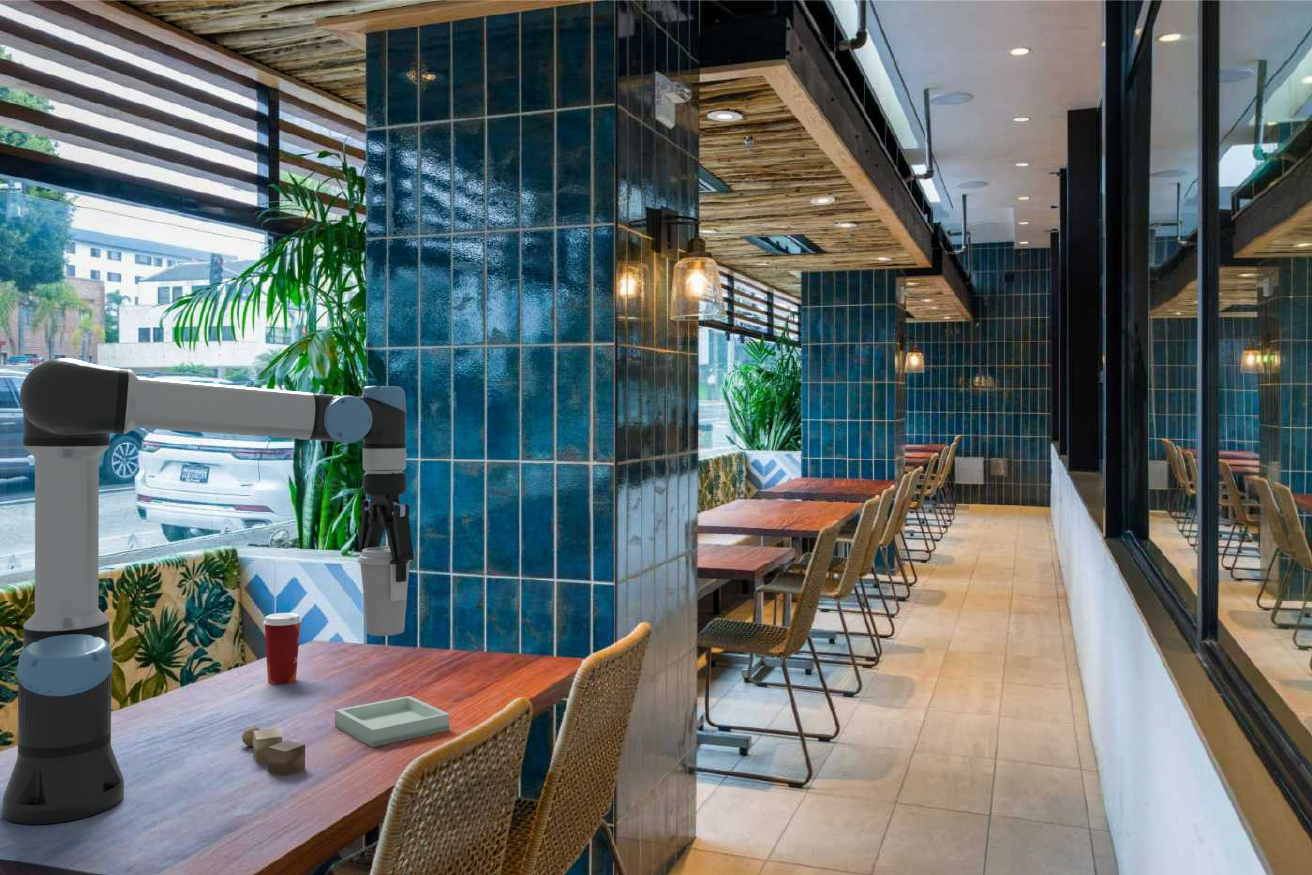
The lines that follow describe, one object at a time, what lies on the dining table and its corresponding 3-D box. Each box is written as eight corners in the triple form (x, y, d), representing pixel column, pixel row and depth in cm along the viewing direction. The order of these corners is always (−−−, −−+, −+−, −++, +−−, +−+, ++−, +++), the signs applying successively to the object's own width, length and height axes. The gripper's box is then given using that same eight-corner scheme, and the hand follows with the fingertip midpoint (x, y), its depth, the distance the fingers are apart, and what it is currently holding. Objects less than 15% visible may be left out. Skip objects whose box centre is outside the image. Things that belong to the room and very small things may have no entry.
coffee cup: (397, 639, 175) (397, 553, 174) (348, 636, 177) (347, 552, 176) (421, 627, 184) (421, 546, 184) (374, 625, 186) (373, 544, 186)
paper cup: (308, 679, 214) (309, 614, 214) (278, 687, 208) (278, 620, 207) (285, 674, 218) (285, 610, 218) (254, 681, 212) (255, 616, 212)
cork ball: (245, 750, 169) (246, 731, 169) (239, 745, 171) (239, 726, 171) (264, 746, 171) (265, 727, 171) (258, 741, 174) (258, 723, 174)
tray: (372, 747, 172) (372, 729, 172) (334, 726, 183) (335, 709, 183) (449, 730, 182) (449, 713, 182) (409, 711, 193) (409, 695, 193)
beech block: (256, 763, 163) (256, 739, 163) (253, 754, 167) (253, 730, 167) (282, 760, 165) (282, 736, 165) (278, 751, 169) (278, 727, 169)
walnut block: (285, 776, 158) (285, 751, 157) (267, 771, 159) (267, 747, 159) (305, 768, 161) (305, 744, 161) (287, 764, 163) (287, 740, 163)
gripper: (433, 474, 174) (434, 602, 175) (376, 468, 190) (377, 585, 191) (394, 475, 169) (394, 607, 170) (338, 469, 185) (339, 589, 186)
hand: (385, 595), depth 180 cm, fingers closed on coffee cup, 9 cm apart
